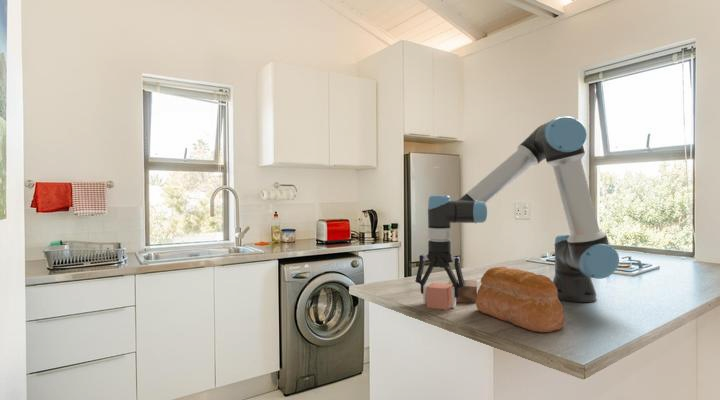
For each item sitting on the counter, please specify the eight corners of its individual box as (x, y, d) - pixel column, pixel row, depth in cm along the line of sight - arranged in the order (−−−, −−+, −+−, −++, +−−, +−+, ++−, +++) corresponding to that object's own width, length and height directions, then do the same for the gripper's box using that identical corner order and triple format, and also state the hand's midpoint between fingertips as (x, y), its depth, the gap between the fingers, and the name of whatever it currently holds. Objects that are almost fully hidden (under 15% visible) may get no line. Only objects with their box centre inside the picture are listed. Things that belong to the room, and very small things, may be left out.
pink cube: (452, 304, 137) (452, 284, 137) (446, 310, 130) (446, 289, 130) (432, 302, 140) (432, 282, 140) (426, 307, 134) (426, 286, 134)
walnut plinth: (476, 296, 148) (476, 280, 148) (476, 303, 138) (476, 286, 138) (449, 294, 151) (449, 279, 151) (447, 301, 141) (447, 284, 141)
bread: (538, 336, 106) (538, 280, 105) (470, 311, 129) (470, 265, 129) (571, 328, 112) (571, 275, 111) (500, 305, 135) (500, 261, 135)
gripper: (474, 240, 133) (474, 306, 133) (412, 237, 143) (413, 298, 143) (469, 242, 126) (469, 312, 127) (405, 239, 136) (405, 303, 137)
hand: (439, 304), depth 135 cm, fingers open, 9 cm apart
